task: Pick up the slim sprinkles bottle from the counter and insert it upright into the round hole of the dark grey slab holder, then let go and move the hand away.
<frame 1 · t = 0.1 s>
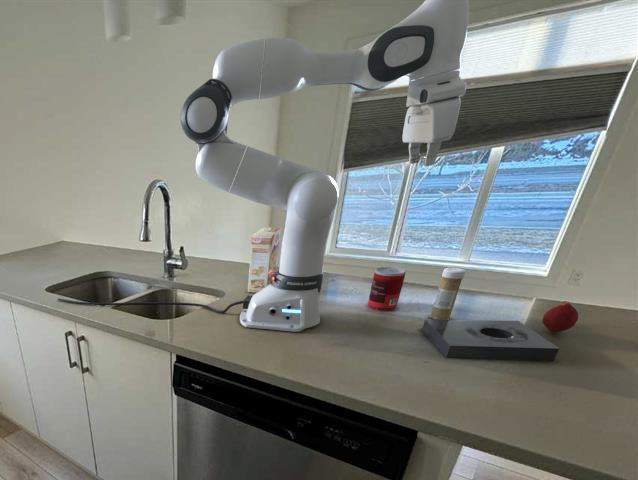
hand: (421, 164, 93), 39 cm above the worktop, tool pointing down, fingers open, 8 cm apart
coffeecake box: (262, 287, 147), on the worktop
dark grey slab holder: (481, 344, 97), on the worktop
sprinkles bottle: (439, 318, 112), on the worktop
canned food: (381, 307, 122), on the worktop
onion: (552, 333, 99), on the worktop
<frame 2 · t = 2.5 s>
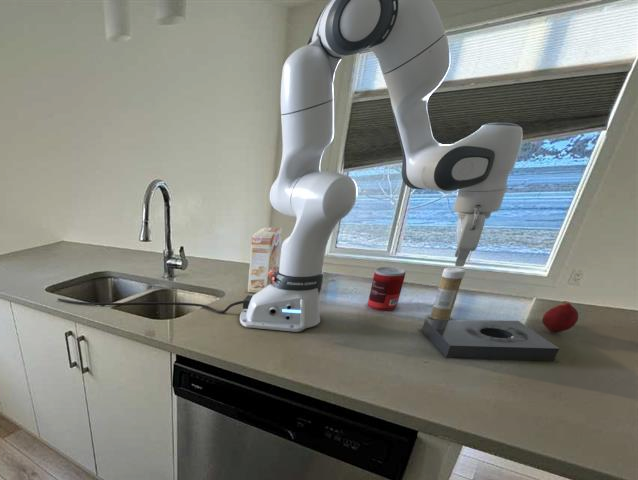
hand: (458, 261, 103), 16 cm above the worktop, tool pointing down, fingers open, 8 cm apart
nothing on the worktop moved.
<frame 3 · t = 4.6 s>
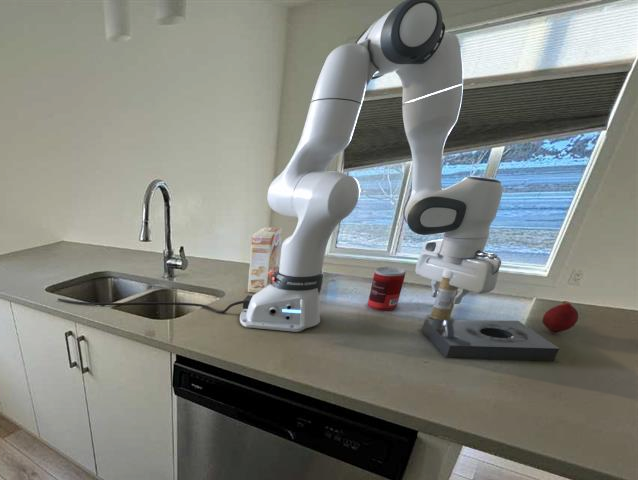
hand: (445, 300, 109), 5 cm above the worktop, tool pointing down, fingers closed on sprinkles bottle, 4 cm apart
sprinkles bottle: (439, 318, 112), on the worktop, touching gripper
everything else where it was.
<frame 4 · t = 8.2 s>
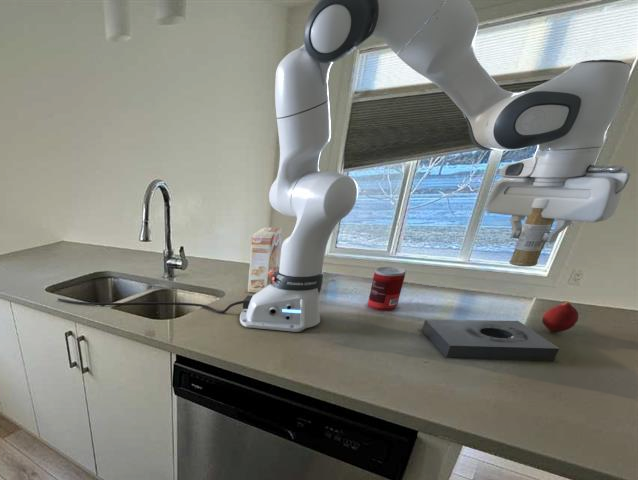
hand: (531, 240, 85), 24 cm above the worktop, tool pointing down, fingers closed on sprinkles bottle, 4 cm apart
sprinkles bottle: (521, 265, 87), point 19 cm above the worktop, touching gripper
everything else where it was.
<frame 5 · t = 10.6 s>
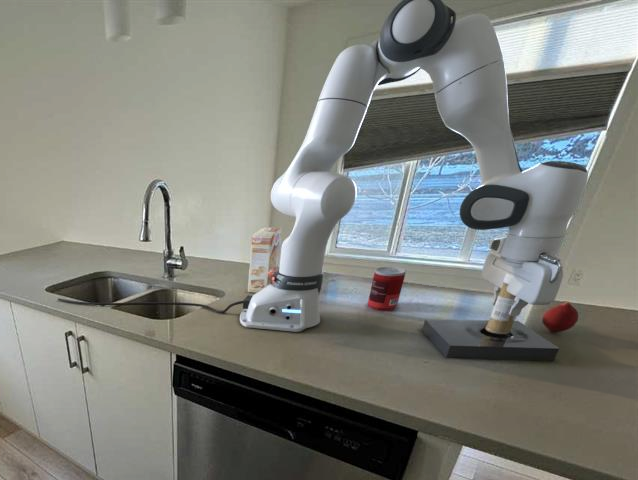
hand: (504, 310, 92), 8 cm above the worktop, tool pointing down, fingers closed on sprinkles bottle, 4 cm apart
sprinkles bottle: (496, 331, 95), point 3 cm above the worktop, touching gripper
everything else where it was.
when the fingers open (5 cm above the worktop, at t = 12.0 s): sprinkles bottle stays where it is, resting in dark grey slab holder.
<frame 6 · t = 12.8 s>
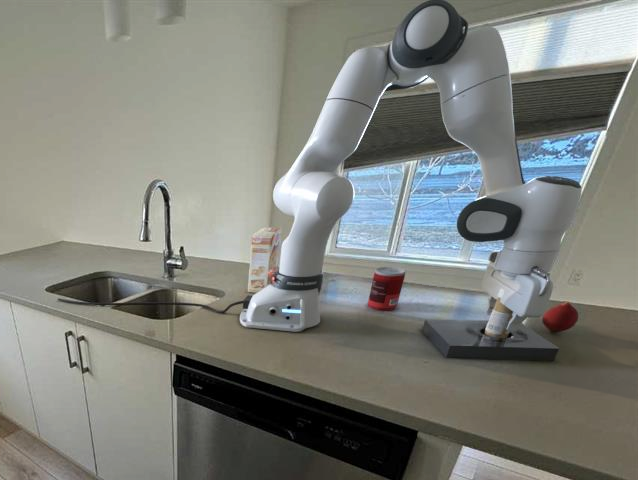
hand: (500, 321, 93), 6 cm above the worktop, tool pointing down, fingers open, 8 cm apart
sprinkles bottle: (491, 344, 96), resting in dark grey slab holder
everything else where it was.
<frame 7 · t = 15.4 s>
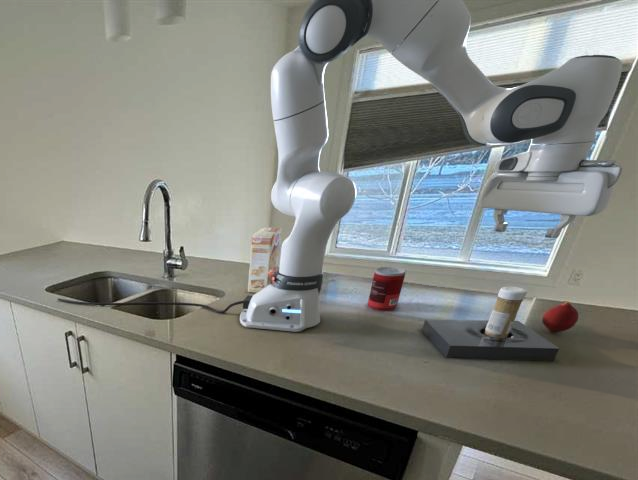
hand: (524, 234, 86), 25 cm above the worktop, tool pointing down, fingers open, 8 cm apart
nothing on the worktop moved.
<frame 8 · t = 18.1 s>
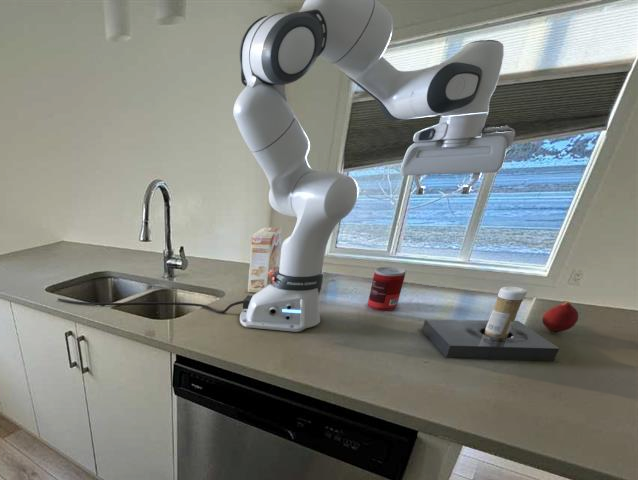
hand: (441, 194, 102), 31 cm above the worktop, tool pointing down, fingers open, 8 cm apart
nothing on the worktop moved.
at the end: sprinkles bottle 0.3 cm from the target spot in the dark grey slab holder, point 0.0 cm above the dark grey slab holder's base; sprinkles bottle tilted 0°; the gripper is holding nothing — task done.
